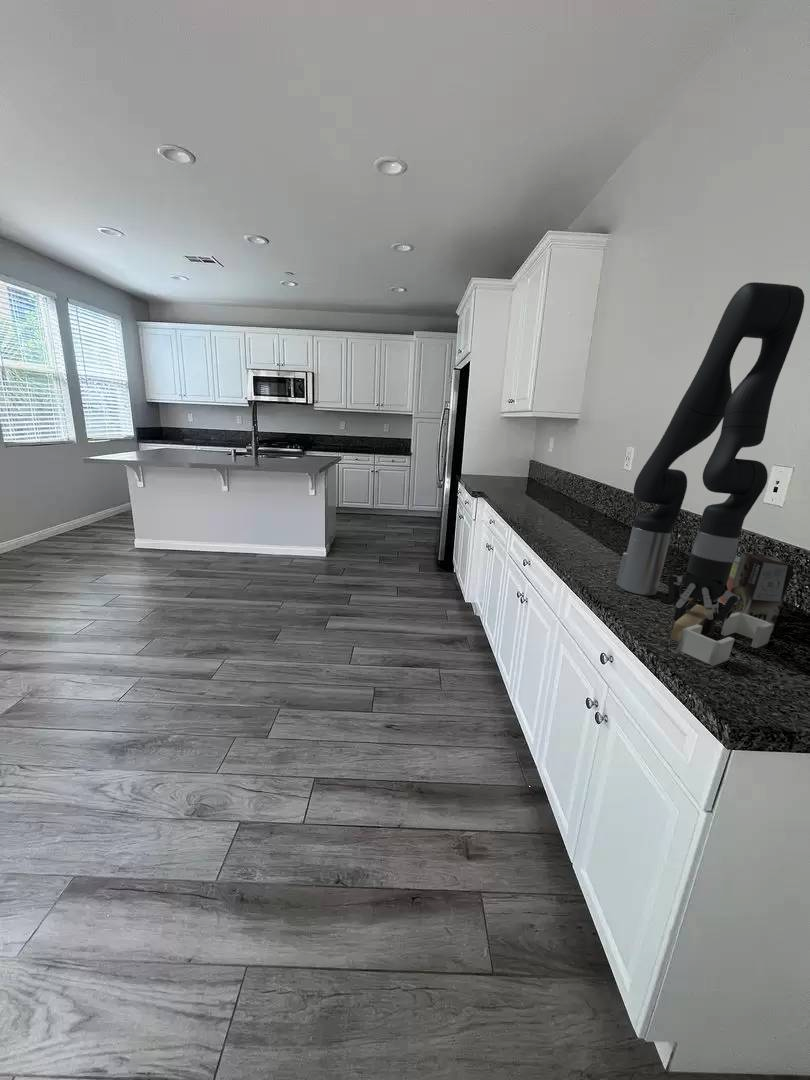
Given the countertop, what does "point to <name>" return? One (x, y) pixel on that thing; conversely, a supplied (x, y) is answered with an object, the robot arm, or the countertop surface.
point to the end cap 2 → (748, 628)
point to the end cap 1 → (704, 646)
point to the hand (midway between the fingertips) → (691, 628)
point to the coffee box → (761, 585)
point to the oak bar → (689, 621)
